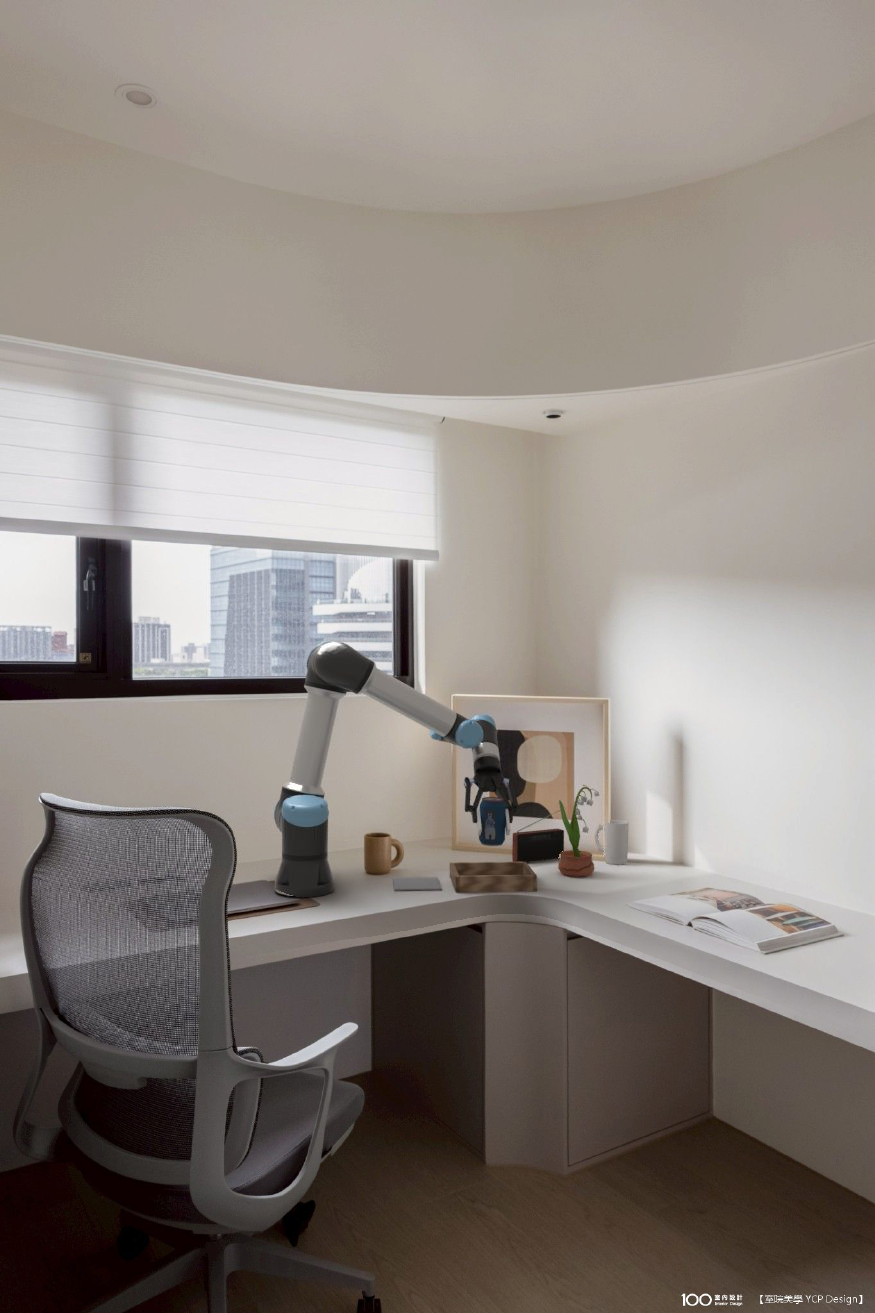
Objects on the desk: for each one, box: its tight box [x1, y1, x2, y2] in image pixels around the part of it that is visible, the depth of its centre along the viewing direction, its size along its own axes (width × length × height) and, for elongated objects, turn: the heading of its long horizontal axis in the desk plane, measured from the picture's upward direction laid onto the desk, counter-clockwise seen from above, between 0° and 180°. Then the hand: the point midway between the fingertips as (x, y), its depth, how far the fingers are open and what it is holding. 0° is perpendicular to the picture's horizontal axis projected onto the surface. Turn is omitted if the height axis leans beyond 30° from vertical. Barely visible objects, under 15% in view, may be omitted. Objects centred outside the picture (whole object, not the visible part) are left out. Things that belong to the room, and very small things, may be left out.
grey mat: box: [392, 876, 442, 892], centre depth 239 cm, size 12×12×1 cm
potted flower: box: [557, 784, 600, 878], centre depth 253 cm, size 12×10×25 cm
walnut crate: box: [449, 861, 538, 893], centre depth 241 cm, size 21×16×4 cm
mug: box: [594, 819, 629, 866], centre depth 268 cm, size 10×7×12 cm, turn 61°
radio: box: [511, 809, 565, 863], centre depth 270 cm, size 19×3×15 cm, turn 118°
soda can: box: [478, 796, 506, 847], centre depth 241 cm, size 7×7×12 cm
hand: (494, 832), depth 237 cm, fingers closed on soda can, 7 cm apart
